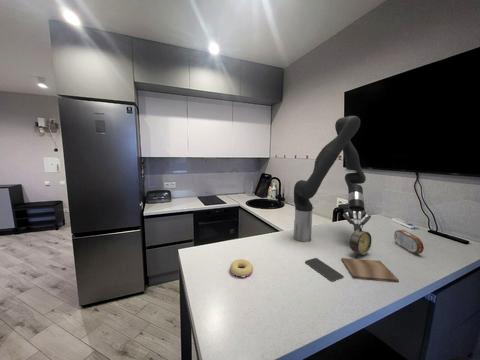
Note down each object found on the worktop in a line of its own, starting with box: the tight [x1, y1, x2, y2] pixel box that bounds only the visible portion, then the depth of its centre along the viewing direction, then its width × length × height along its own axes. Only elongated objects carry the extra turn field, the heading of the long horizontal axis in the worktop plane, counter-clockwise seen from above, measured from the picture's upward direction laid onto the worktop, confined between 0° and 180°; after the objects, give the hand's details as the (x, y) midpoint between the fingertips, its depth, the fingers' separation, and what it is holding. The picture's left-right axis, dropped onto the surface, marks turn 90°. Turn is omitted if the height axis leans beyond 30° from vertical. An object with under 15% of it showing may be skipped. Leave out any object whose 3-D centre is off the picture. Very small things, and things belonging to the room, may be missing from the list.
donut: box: [229, 258, 254, 277], centre depth 81 cm, size 10×5×9 cm
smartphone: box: [304, 257, 345, 283], centre depth 82 cm, size 7×1×15 cm
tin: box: [393, 229, 425, 254], centre depth 98 cm, size 15×3×8 cm, turn 179°
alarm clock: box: [349, 221, 373, 259], centre depth 92 cm, size 11×5×16 cm, turn 117°
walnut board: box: [340, 257, 400, 283], centre depth 81 cm, size 16×13×1 cm
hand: (357, 231), depth 96 cm, fingers closed
